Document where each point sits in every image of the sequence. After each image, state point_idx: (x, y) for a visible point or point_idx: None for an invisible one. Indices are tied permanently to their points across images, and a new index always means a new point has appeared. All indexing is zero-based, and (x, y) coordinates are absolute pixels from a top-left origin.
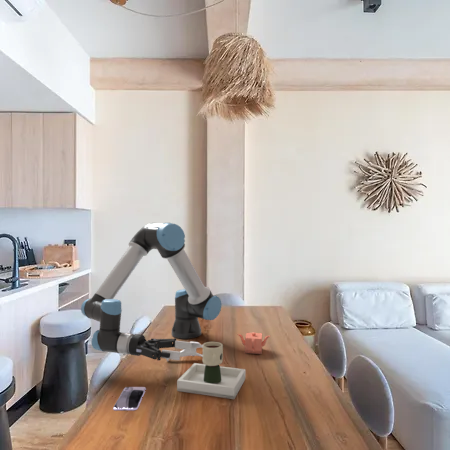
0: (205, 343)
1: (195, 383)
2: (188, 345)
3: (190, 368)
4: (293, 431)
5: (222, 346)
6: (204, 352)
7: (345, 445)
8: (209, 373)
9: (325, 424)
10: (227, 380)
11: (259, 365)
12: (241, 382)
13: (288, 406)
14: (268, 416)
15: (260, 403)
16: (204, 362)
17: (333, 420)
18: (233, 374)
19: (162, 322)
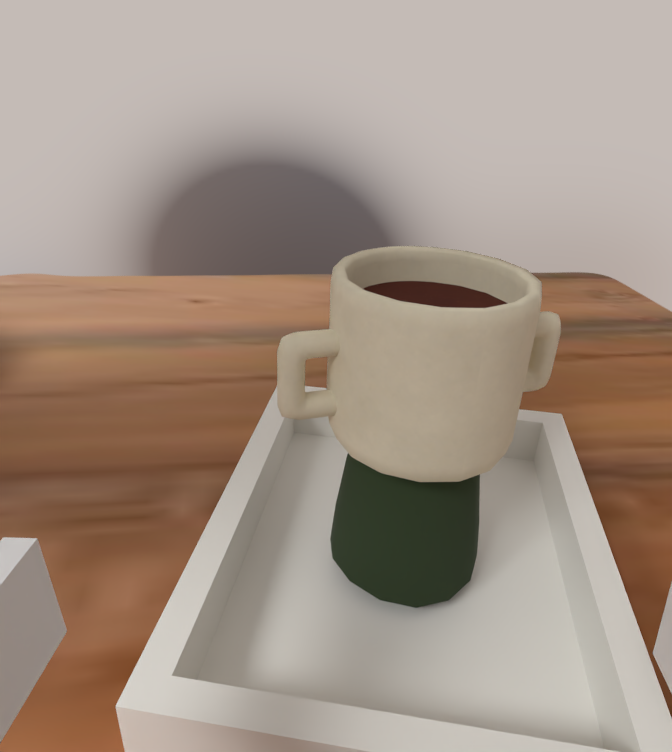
0: (408, 303)
1: (629, 609)
2: (23, 615)
3: (298, 719)
4: (661, 345)
5: (422, 254)
6: (520, 359)
7: (643, 295)
8: (479, 498)
9: (568, 304)
10: None
11: (83, 390)
12: None
13: None
14: (617, 380)
15: (529, 394)
16: (502, 449)
17: None
18: (282, 453)
19: None
